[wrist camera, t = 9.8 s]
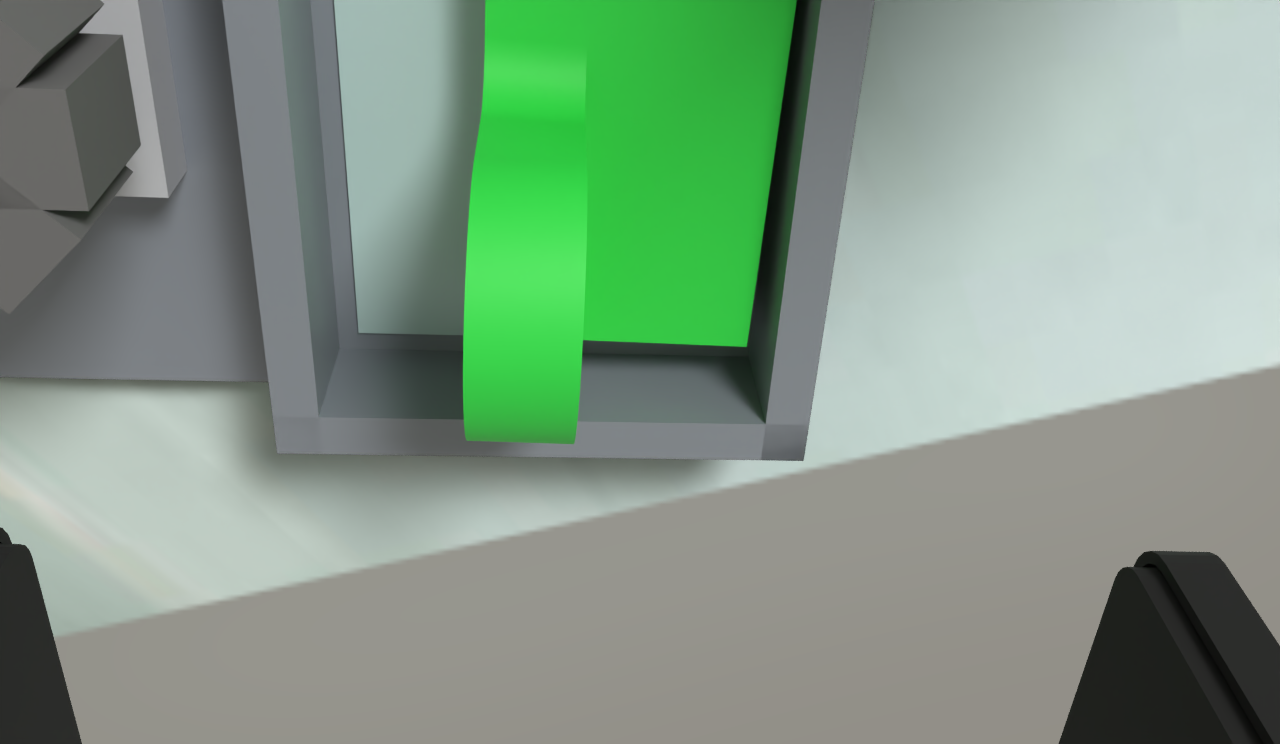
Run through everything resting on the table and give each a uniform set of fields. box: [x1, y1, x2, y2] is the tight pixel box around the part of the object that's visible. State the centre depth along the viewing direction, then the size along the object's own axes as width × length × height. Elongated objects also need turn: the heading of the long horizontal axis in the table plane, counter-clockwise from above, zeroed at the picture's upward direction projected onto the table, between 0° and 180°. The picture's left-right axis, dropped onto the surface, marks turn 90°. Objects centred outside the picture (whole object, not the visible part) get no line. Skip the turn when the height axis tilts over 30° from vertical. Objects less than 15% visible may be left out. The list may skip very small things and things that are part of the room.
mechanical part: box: [463, 0, 797, 444], centre depth 23 cm, size 12×6×8 cm, turn 176°
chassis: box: [0, 0, 874, 461], centre depth 24 cm, size 21×17×5 cm
